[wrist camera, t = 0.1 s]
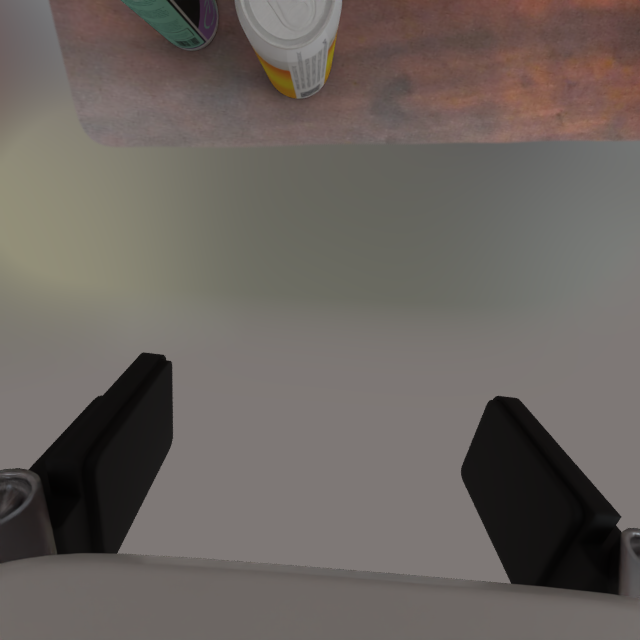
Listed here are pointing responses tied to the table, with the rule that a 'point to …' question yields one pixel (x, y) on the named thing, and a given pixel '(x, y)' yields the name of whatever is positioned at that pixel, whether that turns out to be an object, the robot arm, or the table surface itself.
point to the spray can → (180, 20)
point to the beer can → (292, 41)
